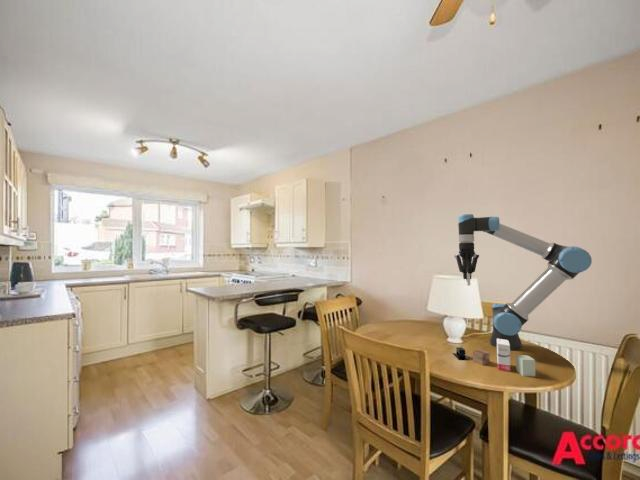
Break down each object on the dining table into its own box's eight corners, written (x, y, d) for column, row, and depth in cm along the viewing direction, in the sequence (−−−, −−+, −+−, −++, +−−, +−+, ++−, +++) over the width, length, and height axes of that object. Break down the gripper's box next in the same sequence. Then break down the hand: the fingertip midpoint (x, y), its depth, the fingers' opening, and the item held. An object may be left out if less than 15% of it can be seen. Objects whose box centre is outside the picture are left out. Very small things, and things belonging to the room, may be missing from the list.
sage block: (528, 371, 127) (528, 355, 128) (535, 376, 122) (535, 360, 123) (516, 370, 128) (516, 355, 128) (522, 375, 123) (522, 359, 123)
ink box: (511, 371, 127) (510, 345, 127) (498, 369, 130) (497, 343, 130) (509, 364, 135) (508, 339, 135) (496, 362, 137) (496, 338, 137)
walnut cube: (480, 359, 141) (480, 349, 141) (489, 363, 136) (489, 353, 136) (473, 361, 139) (472, 351, 139) (482, 365, 134) (481, 354, 135)
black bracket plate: (473, 362, 138) (473, 353, 139) (457, 362, 139) (457, 353, 139) (463, 353, 151) (463, 344, 151) (449, 352, 152) (448, 344, 152)
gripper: (474, 242, 162) (475, 283, 162) (451, 242, 162) (452, 284, 161) (482, 242, 155) (483, 285, 154) (458, 242, 154) (459, 286, 154)
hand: (467, 285), depth 158 cm, fingers closed
